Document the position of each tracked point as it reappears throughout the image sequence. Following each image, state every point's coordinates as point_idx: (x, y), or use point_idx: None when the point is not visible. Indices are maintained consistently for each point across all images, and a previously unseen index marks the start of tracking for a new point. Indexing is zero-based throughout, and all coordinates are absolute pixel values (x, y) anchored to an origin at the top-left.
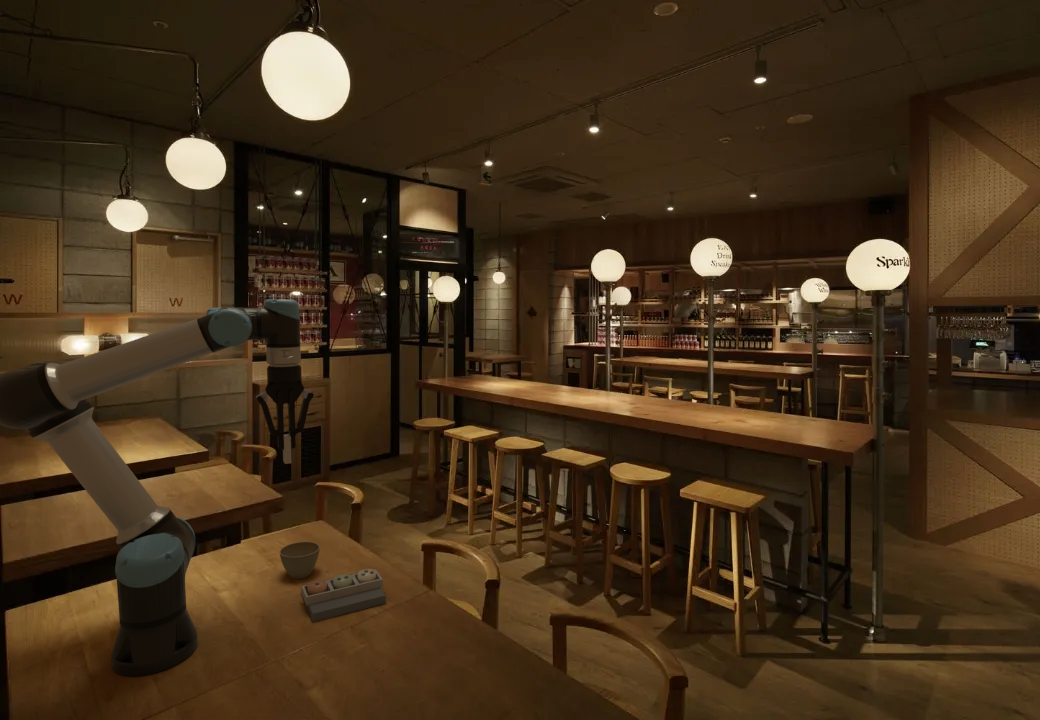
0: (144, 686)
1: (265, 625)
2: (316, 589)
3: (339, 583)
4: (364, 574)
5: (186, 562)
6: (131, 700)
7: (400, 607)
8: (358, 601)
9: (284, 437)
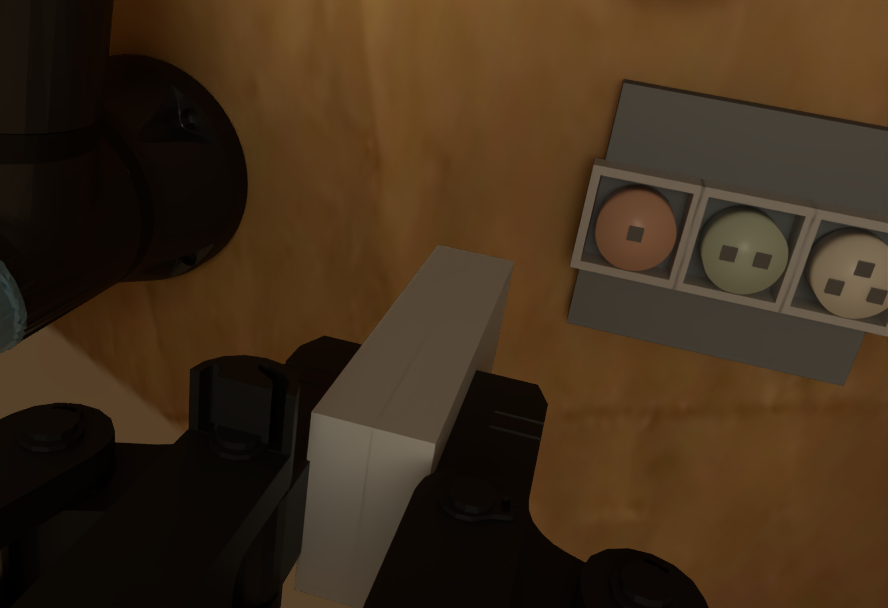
0: (130, 304)
1: (437, 226)
2: (616, 266)
3: (713, 282)
4: (837, 295)
5: (64, 203)
6: (109, 338)
7: (856, 428)
8: (735, 357)
9: (303, 589)
